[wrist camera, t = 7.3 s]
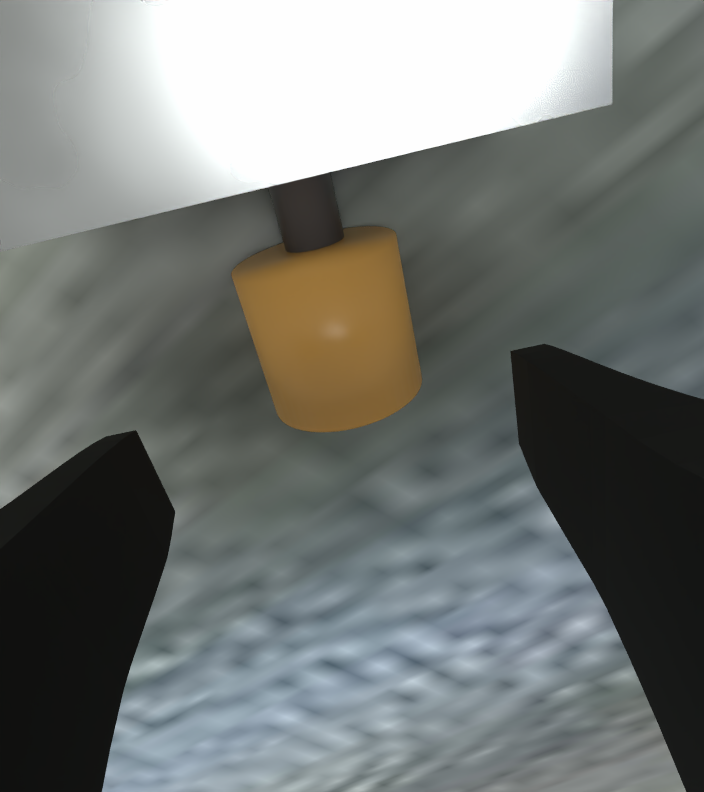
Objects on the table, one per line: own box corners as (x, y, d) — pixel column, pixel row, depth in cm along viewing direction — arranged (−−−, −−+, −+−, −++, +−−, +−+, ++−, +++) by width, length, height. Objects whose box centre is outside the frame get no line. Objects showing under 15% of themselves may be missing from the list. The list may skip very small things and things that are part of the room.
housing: (-65, 54, 13) (-353, 22, 8) (595, -128, 12) (818, -319, 7) (17, 219, 15) (-167, 291, 10) (597, 77, 14) (772, 65, 8)
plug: (34, -427, 10) (-144, -729, 6) (257, -507, 10) (205, -875, 6) (283, 372, 18) (268, 445, 14) (413, 345, 17) (431, 413, 14)
